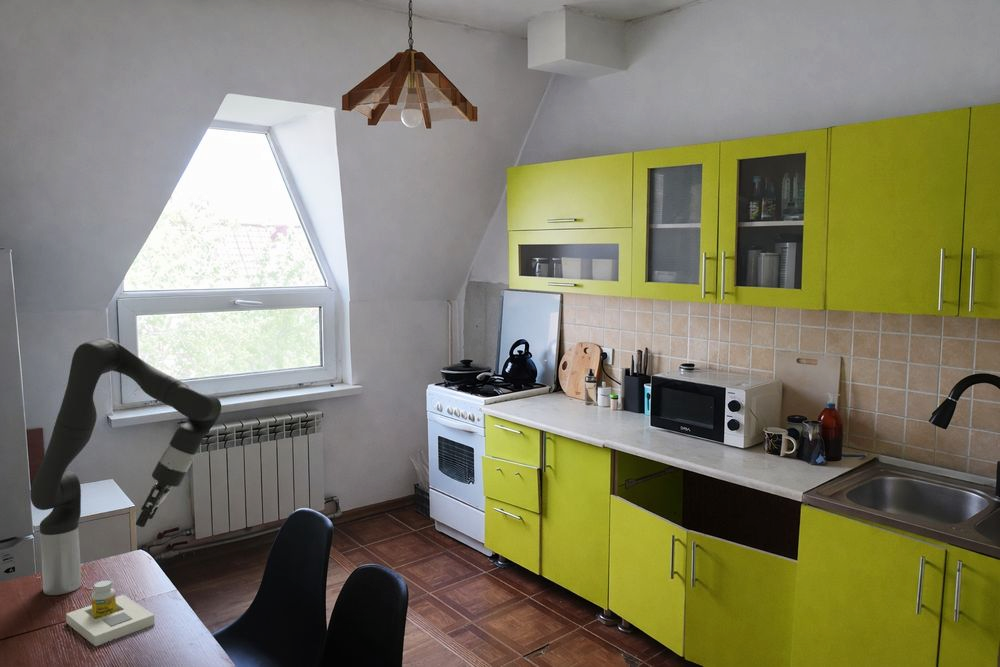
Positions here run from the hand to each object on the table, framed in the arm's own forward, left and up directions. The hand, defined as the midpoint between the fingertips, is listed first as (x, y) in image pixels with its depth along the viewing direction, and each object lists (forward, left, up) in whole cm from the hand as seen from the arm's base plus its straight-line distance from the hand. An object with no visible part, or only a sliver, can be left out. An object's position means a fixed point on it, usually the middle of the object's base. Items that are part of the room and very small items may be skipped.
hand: (143, 521), depth 186 cm
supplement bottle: (-5, -9, -25) cm, 27 cm away
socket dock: (-1, -9, -25) cm, 26 cm away
